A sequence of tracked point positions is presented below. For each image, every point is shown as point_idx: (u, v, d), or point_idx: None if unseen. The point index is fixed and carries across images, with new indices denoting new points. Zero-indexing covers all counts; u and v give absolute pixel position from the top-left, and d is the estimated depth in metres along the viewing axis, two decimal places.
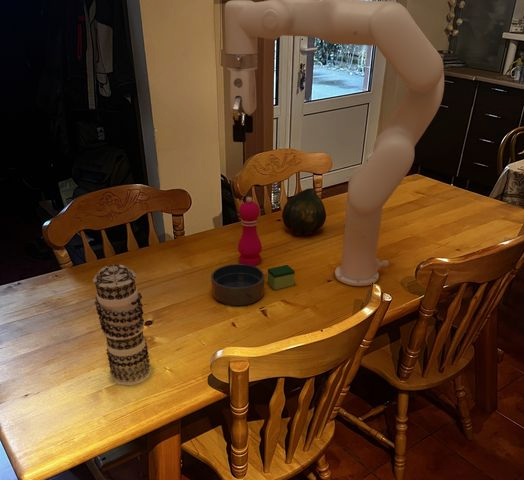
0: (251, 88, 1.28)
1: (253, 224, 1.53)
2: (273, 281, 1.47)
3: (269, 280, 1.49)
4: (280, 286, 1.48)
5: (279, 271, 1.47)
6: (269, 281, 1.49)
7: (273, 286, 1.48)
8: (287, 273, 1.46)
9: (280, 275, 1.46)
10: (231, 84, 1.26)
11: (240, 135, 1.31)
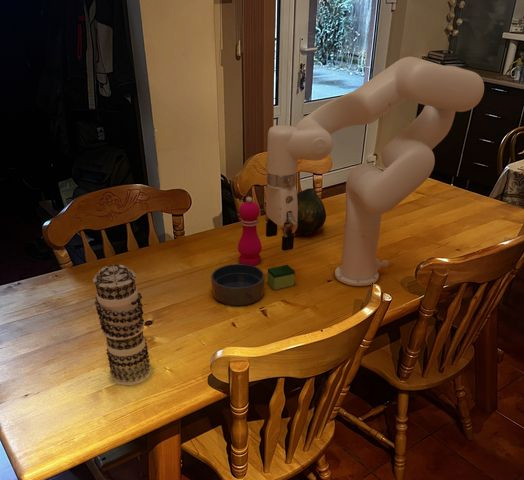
0: None
1: (253, 224, 1.53)
2: (273, 281, 1.47)
3: (269, 280, 1.49)
4: (280, 286, 1.48)
5: (279, 271, 1.47)
6: (269, 281, 1.49)
7: (273, 286, 1.48)
8: (287, 273, 1.46)
9: (280, 275, 1.46)
10: (282, 202, 1.32)
11: (291, 244, 1.38)
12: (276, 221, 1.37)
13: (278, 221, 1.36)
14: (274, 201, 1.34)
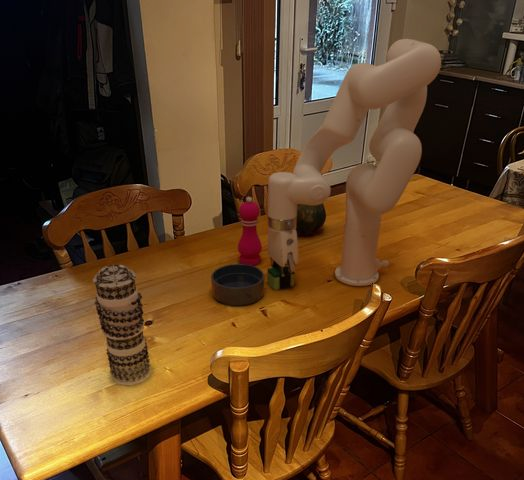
0: None
1: (253, 224, 1.53)
2: (273, 281, 1.47)
3: (269, 280, 1.49)
4: None
5: (279, 271, 1.47)
6: (269, 281, 1.49)
7: (273, 286, 1.48)
8: None
9: None
10: (283, 244, 1.38)
11: (288, 283, 1.47)
12: (278, 261, 1.43)
13: (279, 261, 1.42)
14: (275, 243, 1.41)
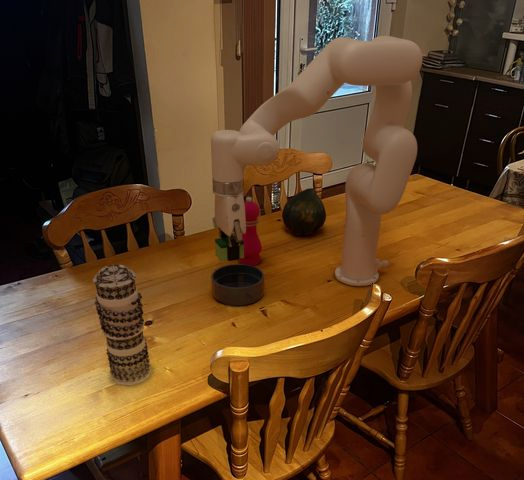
0: None
1: (253, 224, 1.53)
2: (220, 252, 1.35)
3: (217, 251, 1.37)
4: None
5: (227, 241, 1.35)
6: (217, 253, 1.37)
7: (220, 258, 1.36)
8: None
9: (227, 245, 1.34)
10: (229, 210, 1.26)
11: (236, 254, 1.35)
12: (224, 230, 1.31)
13: (226, 230, 1.30)
14: (221, 209, 1.29)
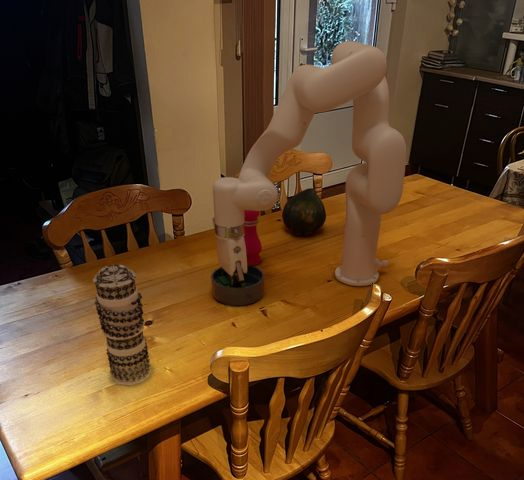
0: None
1: (253, 224, 1.53)
2: None
3: None
4: None
5: (229, 280, 1.41)
6: None
7: None
8: None
9: None
10: (230, 252, 1.33)
11: None
12: (227, 270, 1.37)
13: (228, 270, 1.37)
14: (223, 251, 1.35)
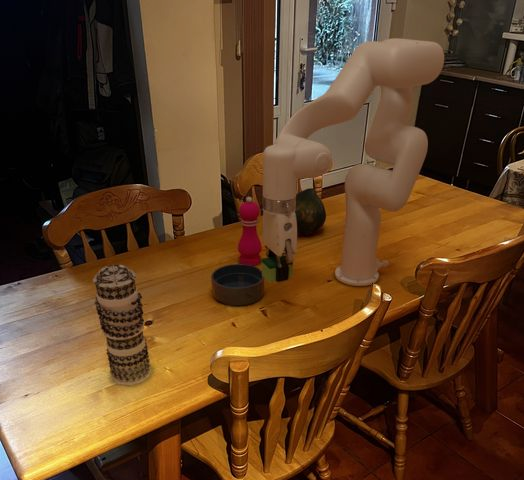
0: None
1: (253, 224, 1.53)
2: (268, 273, 1.27)
3: (263, 272, 1.30)
4: None
5: (275, 261, 1.27)
6: (263, 273, 1.30)
7: (268, 279, 1.28)
8: None
9: None
10: (280, 229, 1.19)
11: (285, 275, 1.27)
12: (274, 250, 1.24)
13: (276, 250, 1.23)
14: (271, 228, 1.21)
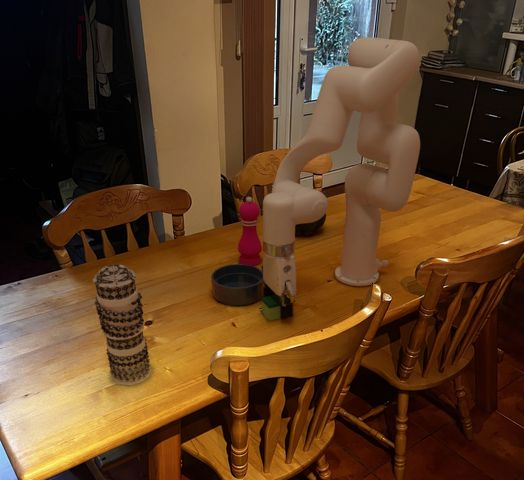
0: None
1: (253, 224, 1.53)
2: (267, 312, 1.33)
3: (263, 310, 1.36)
4: (275, 317, 1.35)
5: (274, 301, 1.34)
6: (263, 311, 1.36)
7: (268, 317, 1.34)
8: None
9: (275, 305, 1.33)
10: (280, 271, 1.25)
11: (290, 313, 1.31)
12: (274, 289, 1.30)
13: (276, 290, 1.29)
14: (271, 269, 1.27)
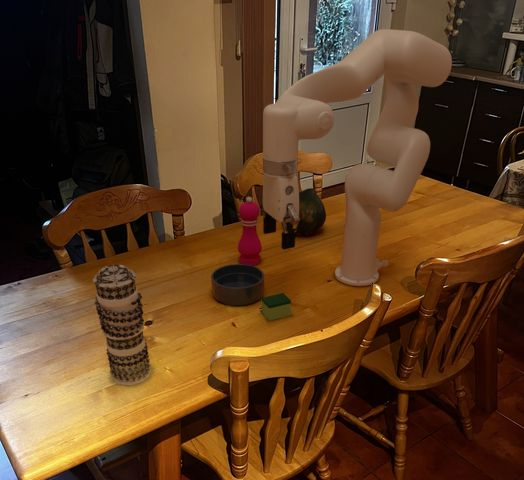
0: None
1: (253, 224, 1.53)
2: (267, 312, 1.33)
3: (263, 310, 1.36)
4: (275, 317, 1.35)
5: (274, 301, 1.34)
6: (263, 311, 1.36)
7: (268, 317, 1.34)
8: (283, 303, 1.33)
9: (275, 305, 1.33)
10: (282, 193, 1.14)
11: (292, 242, 1.20)
12: (275, 216, 1.19)
13: (277, 215, 1.18)
14: (272, 192, 1.17)
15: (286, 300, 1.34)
